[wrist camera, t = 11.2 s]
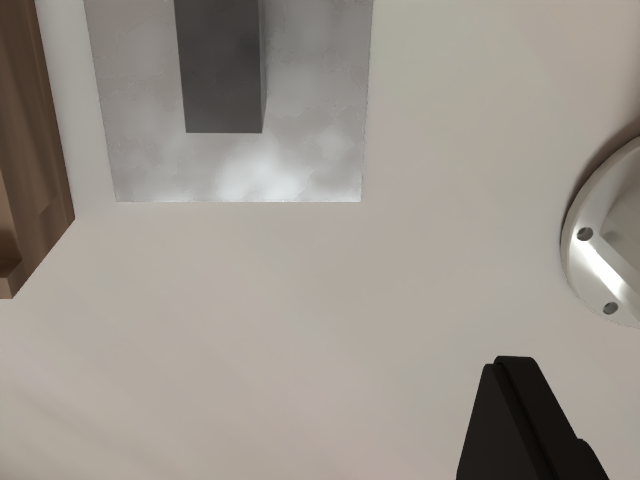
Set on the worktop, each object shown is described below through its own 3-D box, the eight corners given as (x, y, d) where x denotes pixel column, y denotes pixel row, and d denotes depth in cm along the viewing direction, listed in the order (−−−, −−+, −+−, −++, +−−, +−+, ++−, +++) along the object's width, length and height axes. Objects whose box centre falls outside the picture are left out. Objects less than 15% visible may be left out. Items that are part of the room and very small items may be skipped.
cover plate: (378, -151, 23) (405, -178, 18) (358, 194, 30) (373, 247, 25) (66, -161, 22) (-3, -193, 17) (121, 193, 30) (84, 248, 24)
